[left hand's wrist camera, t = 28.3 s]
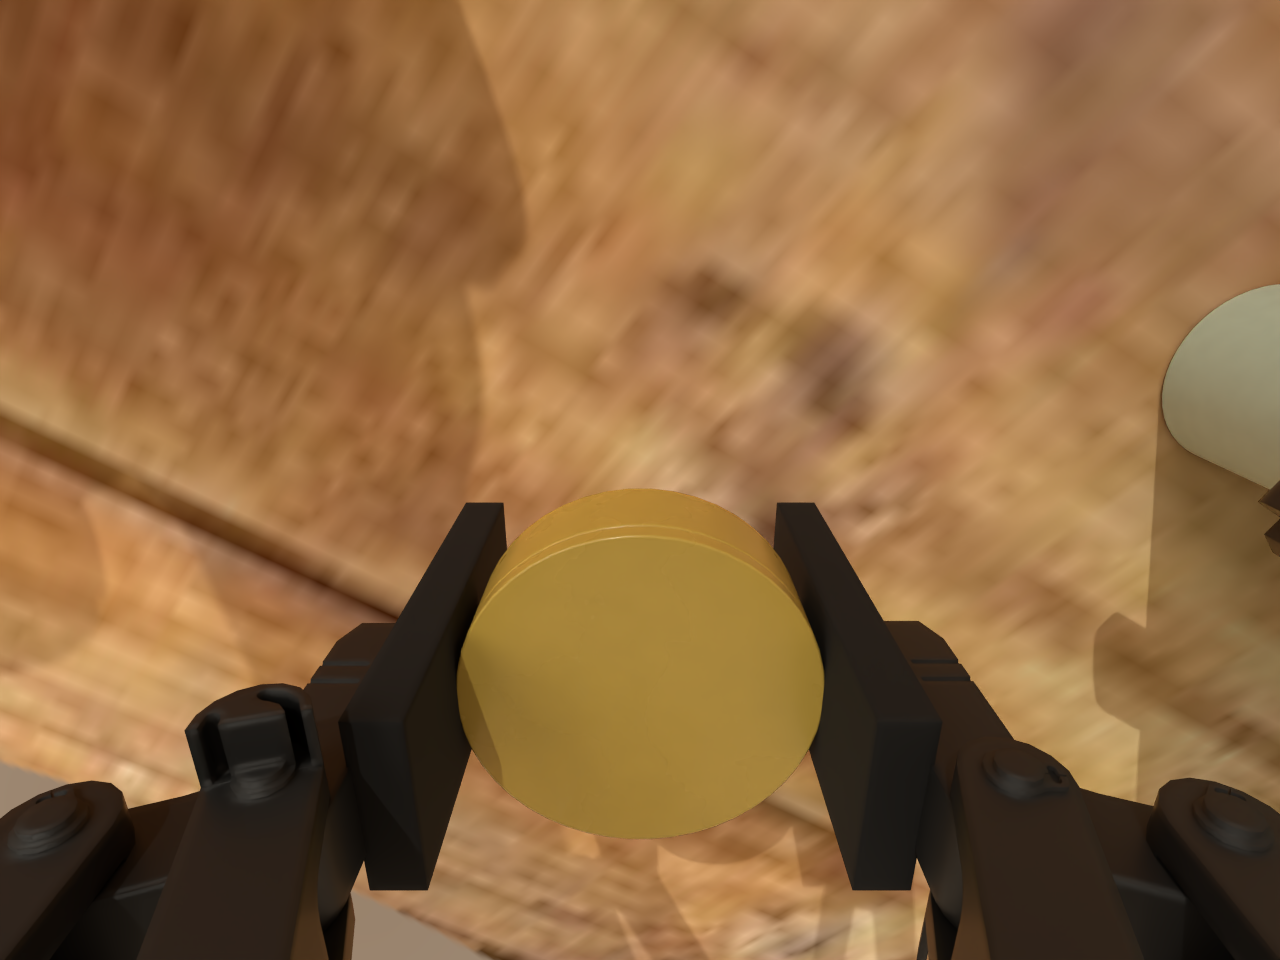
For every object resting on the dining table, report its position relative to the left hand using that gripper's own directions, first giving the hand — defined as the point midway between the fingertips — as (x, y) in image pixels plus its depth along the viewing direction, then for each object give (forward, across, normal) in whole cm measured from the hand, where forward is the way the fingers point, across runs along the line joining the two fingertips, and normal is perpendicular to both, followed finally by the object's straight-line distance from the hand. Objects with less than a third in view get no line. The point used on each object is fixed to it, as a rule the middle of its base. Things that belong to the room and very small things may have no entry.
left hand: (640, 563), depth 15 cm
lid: (-4, 0, 0) cm, 4 cm away
